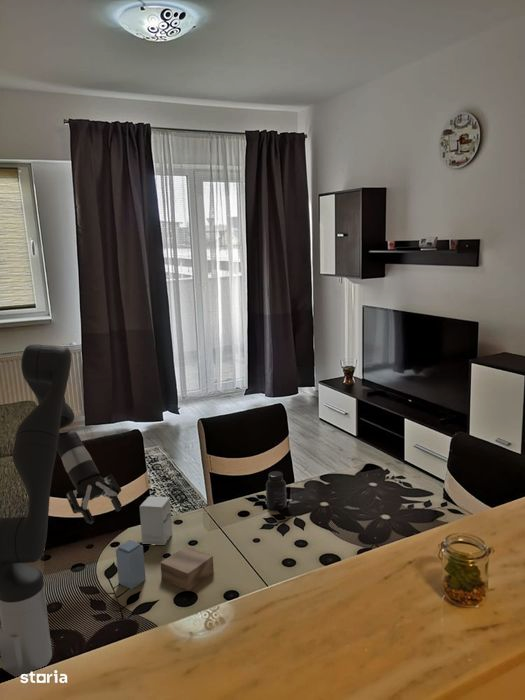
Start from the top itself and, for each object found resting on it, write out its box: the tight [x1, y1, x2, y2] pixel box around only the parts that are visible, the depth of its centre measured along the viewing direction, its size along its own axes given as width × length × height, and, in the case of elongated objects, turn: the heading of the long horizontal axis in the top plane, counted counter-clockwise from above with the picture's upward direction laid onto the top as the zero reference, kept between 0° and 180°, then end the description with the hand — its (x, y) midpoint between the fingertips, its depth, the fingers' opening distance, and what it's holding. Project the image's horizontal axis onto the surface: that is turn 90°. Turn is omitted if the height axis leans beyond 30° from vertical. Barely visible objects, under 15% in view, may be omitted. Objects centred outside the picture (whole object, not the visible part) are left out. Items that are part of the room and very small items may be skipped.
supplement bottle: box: [265, 470, 288, 512], centre depth 192 cm, size 7×7×12 cm
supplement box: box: [139, 495, 173, 545], centre depth 172 cm, size 7×7×13 cm
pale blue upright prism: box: [115, 539, 147, 590], centre depth 151 cm, size 5×5×11 cm
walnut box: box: [160, 545, 215, 591], centre depth 153 cm, size 10×10×5 cm
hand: (106, 516), depth 155 cm, fingers open, 8 cm apart
